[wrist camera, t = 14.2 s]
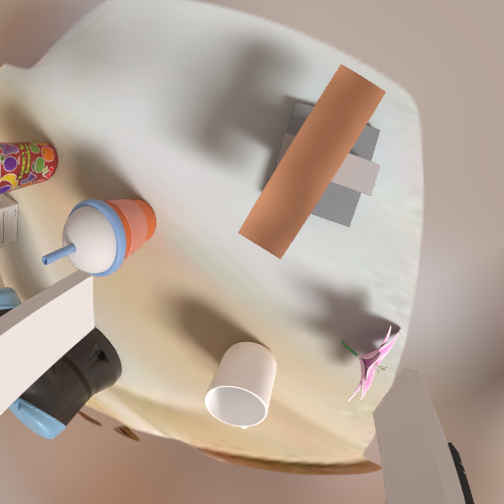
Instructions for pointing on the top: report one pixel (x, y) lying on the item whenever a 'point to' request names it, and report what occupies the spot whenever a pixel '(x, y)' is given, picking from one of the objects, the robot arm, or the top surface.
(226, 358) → the cup
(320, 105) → the batten
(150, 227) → the cup with straw
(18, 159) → the smoothie
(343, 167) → the ridge stand
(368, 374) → the lily
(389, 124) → the top surface
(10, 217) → the supplement box
